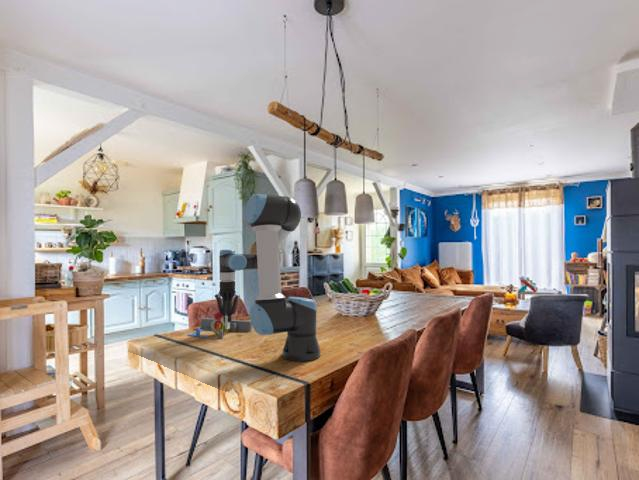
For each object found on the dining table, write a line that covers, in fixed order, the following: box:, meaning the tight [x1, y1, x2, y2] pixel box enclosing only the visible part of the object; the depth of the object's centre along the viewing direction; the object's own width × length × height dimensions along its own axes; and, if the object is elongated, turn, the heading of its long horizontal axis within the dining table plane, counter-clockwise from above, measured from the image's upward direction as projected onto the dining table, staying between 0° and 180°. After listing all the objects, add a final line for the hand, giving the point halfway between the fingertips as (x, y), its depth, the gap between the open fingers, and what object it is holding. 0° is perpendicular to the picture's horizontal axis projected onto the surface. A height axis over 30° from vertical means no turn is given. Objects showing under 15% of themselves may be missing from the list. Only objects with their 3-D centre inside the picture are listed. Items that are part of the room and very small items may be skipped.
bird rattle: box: [211, 311, 230, 336], centre depth 173 cm, size 6×11×9 cm
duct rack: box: [187, 317, 253, 340], centre depth 175 cm, size 18×28×5 cm, turn 77°
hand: (227, 328), depth 173 cm, fingers closed
